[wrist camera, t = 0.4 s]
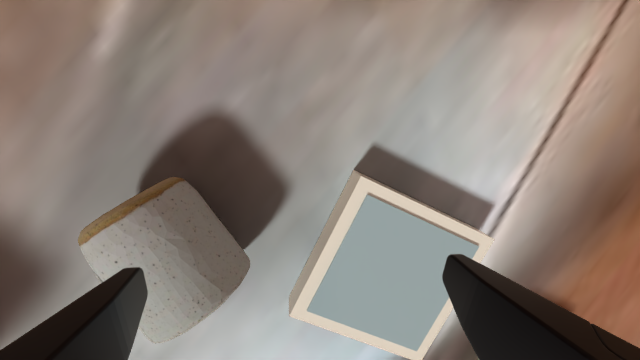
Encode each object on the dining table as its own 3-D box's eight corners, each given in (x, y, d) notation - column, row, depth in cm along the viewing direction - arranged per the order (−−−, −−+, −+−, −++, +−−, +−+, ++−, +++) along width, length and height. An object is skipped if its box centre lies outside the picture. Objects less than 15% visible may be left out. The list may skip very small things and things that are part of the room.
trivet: (408, 341, 28) (421, 364, 25) (288, 297, 26) (289, 317, 23) (475, 227, 26) (496, 240, 24) (353, 169, 24) (361, 176, 21)
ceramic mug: (193, 160, 22) (144, 184, 15) (258, 244, 24) (243, 303, 17) (78, 237, 23) (-25, 298, 15) (150, 314, 25) (89, 401, 17)
